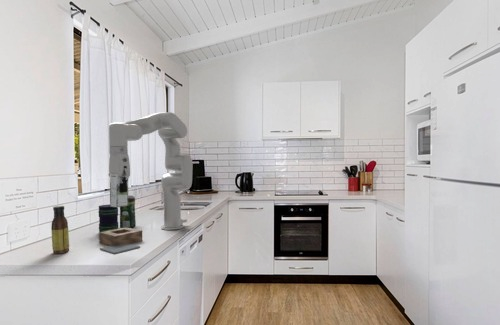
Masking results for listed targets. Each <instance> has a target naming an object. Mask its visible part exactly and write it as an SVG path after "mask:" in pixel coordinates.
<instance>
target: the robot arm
mask: <svg viewBox="0 0 500 325" xmlns="http://www.w3.org/2000/svg"><path fill="white" fill-rule="evenodd" d="M108 125H109V126H108V141H109V143H108V145H109V147H108V148H109V149H108V150H109V153H108V154H109V163H108V177H109V178H110V174H118V176H119V177H120V182H121V183H120V193H122V192H127V183H128V184H129V178H130V177H131V164H130V156H129V154H128V153H129V151H128V150H129V149H128V148H129V146H128V142H132V141H133V142H134V141H135V142H136V141H139V140H141V138H143V136H144V135H150V134H152V133H154V132H157V134H158V136H159V137H160V138H161V140H162V142H163V144H164V146H165V148H164V149H165V154H164V155H165V156H164V166H165V169H166V170H167V171H171V173H168V172H167V173H165V174H163V175H162V177H161V187H162V194H163V196H162V197H163V225H161V227H160V228H161V230H164V231H173V230H174V231H175V230H180V229H183V228H184V226H185V225H184V223H187V222H188V220H187V219H186V218H185V219H182V216H181V215H182V214H181V212H182V210H181V195H180V193H179V191H186V190H190V188H191V187H192V184H193V166H194V165H193V159H192V157H191V156H190V155H189V154H184V153H183V154H182V153H181V144H180V142H179V141H178V139H183V138H185V137H187V134H188V128H187V125H186V124H185V123H184V122H183V121H182V119H180V117H179V116H177V115H176V114H175V113H174V112H172V111H171V112H170V111H168V112H167V111H166V112H156V113H153V114H150V115H148V116H144V117H141V118H138V119H133V120H129V121H124V122H112V123H110V124H108ZM173 172H174V173H173ZM177 172H180V173H177ZM122 175H125V176H122ZM122 178H123V179H122Z"/></svg>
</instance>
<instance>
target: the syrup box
mask: <svg viewBox="0 0 500 325" xmlns="http://www.w3.org/2000/svg"><path fill="white" fill-rule="evenodd" d="M122 176H125V175H122ZM122 179H123V178H122ZM120 183H121V182H120V177H119V176H118V174H110V177H109V205H110V206H111V207H118V208H120V207H123V206H128V196H129V182H128V183H127V192H122V193H120Z"/></svg>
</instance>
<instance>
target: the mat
mask: <svg viewBox="0 0 500 325" xmlns="http://www.w3.org/2000/svg"><path fill="white" fill-rule="evenodd" d="M140 248H141V246H140V245H136V244H134V243H131V244H129V243H126V244H122V245H117V246H114V245H112V246H109V245H107V246H105V247H100V248H99V250H100V251H103V252H107V253H110V254H113V255H117V254H120V253H124V252H128V251H132V250H136V249H140Z"/></svg>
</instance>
